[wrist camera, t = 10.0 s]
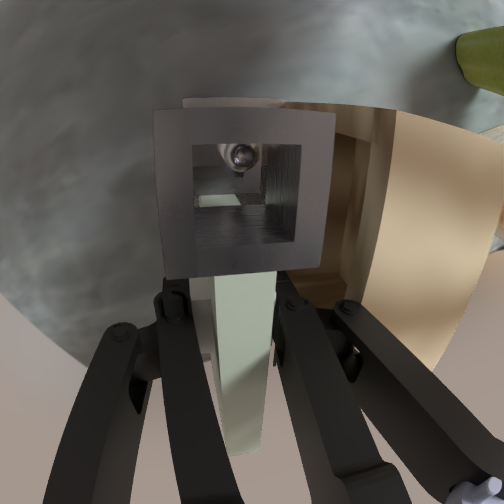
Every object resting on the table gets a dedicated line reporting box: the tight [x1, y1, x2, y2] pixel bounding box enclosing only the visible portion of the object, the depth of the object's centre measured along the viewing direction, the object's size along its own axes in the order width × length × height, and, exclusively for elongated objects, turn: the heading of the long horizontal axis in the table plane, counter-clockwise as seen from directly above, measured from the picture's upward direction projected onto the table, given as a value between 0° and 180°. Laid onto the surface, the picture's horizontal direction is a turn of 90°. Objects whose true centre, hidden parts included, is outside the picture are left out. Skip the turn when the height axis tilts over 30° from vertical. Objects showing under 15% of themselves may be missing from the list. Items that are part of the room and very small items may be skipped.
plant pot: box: [456, 26, 504, 96], centre depth 15 cm, size 9×9×9 cm
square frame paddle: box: [153, 107, 336, 457], centre depth 13 cm, size 15×4×10 cm, turn 179°
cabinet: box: [183, 97, 504, 409], centre depth 17 cm, size 15×14×14 cm
